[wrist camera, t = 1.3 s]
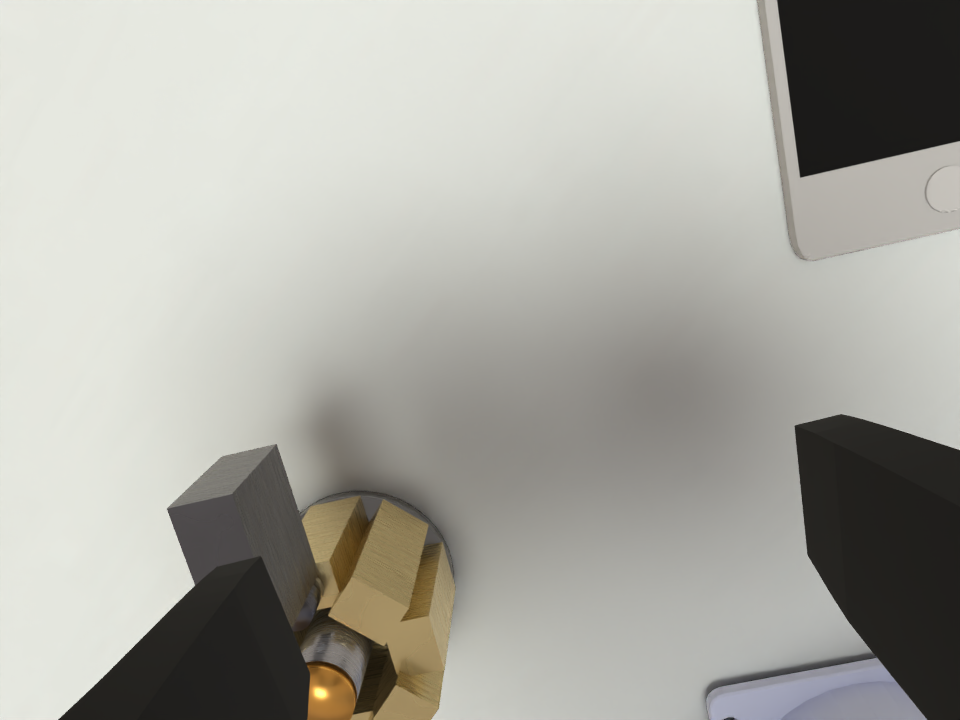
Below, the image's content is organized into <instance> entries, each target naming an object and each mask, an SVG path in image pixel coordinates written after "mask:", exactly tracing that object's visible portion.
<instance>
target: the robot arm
mask: <svg viewBox="0 0 960 720" xmlns="http://www.w3.org/2000/svg"><path fill="white" fill-rule="evenodd" d="M795 434H796V444H797V454H798V464H799V474H800V484H801V494H802V504H803V514H804V524H805V534H806V544H807V554H808V556H809V558H810V560H811V561H812V563H813V565H814V566H815V568H816V570H817V571H818V573H819V575H820V577H821V578H822V580H823V582H824V583H825V585H826V587H827V588H828V590H829V592H830V593H831V595H832V596H833V598H834V600H835V601H836V603H837V604H838V606H839V607H840V609H841V611H842V612H843V614H844V615H845V617H846V618H847V620H848V621H849V623H850V624H851V625H852V627H853V628H854V629H855V630H856V632H857V633H858V634H859V636H860V637H861V638H862V639H863V641H864V642H865V643H866V644H867V646H868V647H869V648H870V649H871V651H872V652H873V653H874V654H875V656H876V657H877V658H873V659H868V660H862V661H857V662H851V663H846V664H841V665H835V666H830V667H824V668H819V669H814V670H808V671H803V672H797V673H792V674H787V675H781V676H776V677H770V678H765V679H760V680H754V681H749V682H743V683H738V684H733V685H727V686H722V687H719V688H716V689H714V690H713V691H711V692H710V693H709V695H708V697H707V699H706V706H707V711H708V716H709V720H724V719H725V718H728V717H734V718H735V719H734V720H960V450H958V449H954V448H951V447H948V446H945V445H942V444H939V443H936V442H933V441H930V440H927V439H924V438H921V437H917V436H914V435H911V434H908V433H905V432H902V431H899V430H896V429H893V428H889V427H886V426H883V425H880V424H877V423H873V422H870V421H866V420H863V419H859V418H855V417H851V416H847V415H842V414H840V415H836V416H832V417H828V418H824V419H820V420H816V421H812V422H808V423H803V424H799V425H795ZM309 687H310V672H309V669H308V667H307V664H306V662H305V660H304V657H303V655H302V652H301V650H300V648H299V645H298V643H297V640H296V638H295V636H294V633H293V631H292V629H291V626H290V624H289V621H288V619H287V617H286V614H285V612H284V609H283V607H282V605H281V602H280V600H279V597H278V595H277V593H276V590H275V588H274V586H273V583H272V581H271V578H270V576H269V574H268V571H267V569H266V566H265V564H264V562H263V559H262V557H261V556H258V557H254V558H250V559H246V560H242V561H238V562H234V563H230V564H226V565H222V566H217V567H216V568H215V569H214V570H212V571H211V572H210V573H209V574H208V575H206V576H205V577H204V578H203V579H202V580H201V581H200V582H199V583H198V584H196V585H195V586H194V587H193V588H192V589H191V590H190V591H189V592H188V593H187V594H186V595H185V596H184V597H183V598H182V599H181V600H180V601H179V602H178V603H177V604H176V605H175V606H174V607H173V608H172V609H171V610H170V611H169V612H168V613H167V614H166V615H165V616H164V617H163V618H162V619H161V620H160V621H159V622H158V623H157V624H156V625H155V626H154V627H153V628H152V629H151V630H150V631H149V632H148V633H147V634H146V635H145V636H144V637H143V638H142V639H141V640H140V641H139V642H138V643H137V644H136V645H135V646H134V647H133V648H132V649H131V650H130V651H129V652H128V653H127V654H126V655H125V656H124V657H123V658H122V659H121V660H120V661H119V662H118V663H117V664H116V665H115V666H114V667H113V668H112V669H111V670H110V671H109V672H108V673H107V674H106V675H105V676H104V677H103V678H102V679H101V680H100V681H99V682H98V683H97V684H96V685H95V686H94V687H93V688H92V689H90V690H89V691H88V692H87V693H86V694H85V695H84V696H83V697H82V698H81V699H80V700H79V701H78V702H77V703H76V704H75V705H73V706H72V707H71V708H70V709H69V710H68V711H67V712H66V713H65V714H64V715H63V716H62V717H61V718H60V719H59V720H307V718H308V703H309Z"/></svg>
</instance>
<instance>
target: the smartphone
mask: <svg viewBox="0 0 960 720" xmlns="http://www.w3.org/2000/svg"><path fill="white" fill-rule="evenodd" d="M757 3H758V11H759V18H760V25H761V33H762V40H763V47H764V55H765V62H766V70H767V77H768V84H769V92H770V99H771V107H772V114H773V121H774V129H775V136H776V144H777V151H778V158H779V166H780V173H781V180H782V188H783V195H784V203H785V210H786V217H787V225H788V232H789V237H790V242H791V245H792V247H793V250H794V252H795V253H796V254H797V255H798V256H799V257H800V258H801V259H805V260H810V261H816V260H820V259H825V258H829V257H834V256H838V255H843V254H847V253H852V252H856V251H861V250H866V249H870V248H875V247H879V246H884V245H888V244H893V243H897V242H902V241H906V240H911V239H915V238H920V237H925V236H929V235H934V234H938V233H943V232H947V231H952V230H956V229H960V0H757Z"/></svg>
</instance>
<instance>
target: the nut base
mask: <svg viewBox="0 0 960 720" xmlns="http://www.w3.org/2000/svg"><path fill="white" fill-rule="evenodd" d="M355 496H361V499H362V503H363V506H364V509H365V512H366V516H367V519H368V522H369V521H370V520H371V518H372V517H373V515H374V513H375V512H376V510H377V508H378V507H379V505H380V504H381V502H382V500H383V499H384V500H386V501H388V502H390V503H391V504H393V505H395V506H397V507H398V508H400V509H402V510H404V511H405V512H407V513H409V514H411V515H412V516H414V517H416V518H418V519H420V520H421V521H423V522H425V523H427V524H428V530H427V534H426V538H425V542H424V546H426V545H431V544H435V543H440V542H443V545H444V549H445V552H446V556H447V559H448V563H449V566H450V570H451V573H452V577H453V565H452V560H451V556H450V553H449V550H448V547H447V545H446V543H445V541H444V539H443V537H442V535H441V534H440V533H439V531H438V530H437V528H436V527H435V526H434V525H433V524H432V522H431V521H430V520H429V519H428V518H427V517H426V516H424V515H423V514H422V513H421V512H420V511H419V510H417V509H416V508H414V507H412V506H411V505H409V504H408V503H406V502H404V501H401V500H399V499H397V498H394V497H391V496H389V495H385V494H381V493H376V492H367V491H351V492H345V493H339V494H335V495H332V496H328V497H326V498H324V499H321V500H319V501H317V502H316V503H314V504H312V505H311V506H314V505H319V504H324V503H328V502H333V501H337V500H342V499H346V498H351V497H355ZM309 508H310V506H309V507H308V508H306V509H305V510H304V511H303V512H301V513H300V517H301V520H302V519H303V518H304V516H305V514H306V513H307V511H308V510H309ZM330 610H331V607H329V608H324V609H319V610H317V611H316V614H315V616H314V618H313V620H312V622H311V625H310V627H309V629H308V631H307V634H306V636H305V638H304V640H303V642H302V645H301V647H300V650H301V652H302V655H303V657H304V660H305V662H306V664H307V667H308V669H309V672H310V687H309V703H308V718H307V720H350V719H351V718H352V715H353V712H354V709H355V705H356V702H357V699H358V695H359V692H360V689H361V685H362V682H363V678H364V675H365V672H366V668H367V665H368V662H369V658H370V655H371V651H372V648H373V645H374V641H373V640H371V639H370V638H368V637H366V636H364V635H362V634H360V633H359V632H357V631H355V630H353V629H351V628H349V627H348V626H346V625H344V624H342V623H340V622H338V621H337V620H335V619H333V618H331V617H329V616H328V614H329V612H330Z"/></svg>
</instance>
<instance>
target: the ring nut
mask: <svg viewBox="0 0 960 720" xmlns="http://www.w3.org/2000/svg"><path fill="white" fill-rule="evenodd" d="M167 510H168V513H169V516H170V518H171V521H172V524H173V527H174V529H175V532H176V535H177V537H178V540H179V543H180V545H181V548H182V551H183V554H184V556H185V559H186V562H187V564H188V567H189V570H190V572H191V575H192V578H193V580H194V583H195V585H196V584H198V583H199V582H200V581H201V580H202V579H203V578H204V577H205V576H206V575H208V574H209V573H210V572H211V571H212V570H214V569H215V568H216V567H217V566H222V565H226V564H230V563H234V562H238V561H242V560H246V559H250V558H254V557H258V556H261V557H262V559H263V562H264V564H265V566H266V569H267V571H268V574H269V576H270V578H271V581H272V583H273V586H274V588H275V590H276V593H277V595H278V597H279V600H280V602H281V605H282V607H283V609H284V612H285V614H286V617H287V619H288V621H289V624H290V626H291V629H292V631H293V633H294V636H295V638H296V640H297V643H298V645H299V648H300V647H301V645H302V642H303V640H304V638H305V636H306V634H307V631H308V629H309V627H310V625H311V622H312V620H313V618H314V616H315V614H316V611H317V610H319V609H324V608H329V607H331V610H330V612H329V614H328V616H329V617H331V618H333V619H335V620H337V621H338V622H340V623H342V624H344V625H346V626H348V627H349V628H351V629H353V630H355V631H357V632H359V633H360V634H362V635H364V636H366V637H368V638H370V639H371V640H373V641H374V645H373V648H372V651H371V655H370V658H369V662H368V665H367V668H366V672H365V675H364V678H363V682H362V685H361V689H360V692H359V695H358V699H357V702H356V705H355V709H354V712H353V715H352V718H351V719H350V720H431V719H432V717H433V716H434V714H435V713H436V712H437V710H438V709H439V703H440V696H441V689H442V681H443V674H444V670H445V663H446V655H447V648H448V640H449V633H450V625H451V618H452V611H453V603H454V596H455V588H456V587H455V584H454V580H453V577H452V573H451V570H450V566H449V563H448V559H447V556H446V552H445V549H444V545H443V542H440V543H435V544H431V545H426V546H424V542H425V538H426V534H427V530H428V524H427V523H425V522H423V521H421V520H420V519H418V518H416V517H414V516H412V515H411V514H409V513H407V512H405V511H404V510H402V509H400V508H398V507H397V506H395V505H393V504H391V503H390V502H388V501H386V500H384V499H383V500H382V502H381V504H380V505H379V507H378V508H377V510H376V512H375V513H374V515H373V517H372V518H371V520H370V521H369V522H368V519H367V516H366V512H365V509H364V506H363V503H362V499H361V496H355V497H351V498H346V499H342V500H337V501H333V502H328V503H324V504H319V505H314V506H310V508H309V510H308V511H307V513H306V514H305V516H304V518H303V519H302V520H301V517H300V514H299V511H298V508H297V505H296V502H295V499H294V496H293V493H292V490H291V487H290V484H289V481H288V477H287V474H286V471H285V468H284V465H283V462H282V459H281V456H280V453H279V450H278V447H277V444H275V445H271V446H266V447H262V448H257V449H253V450H249V451H244V452H240V453H236V454H231V455H227V456H223V457H221V458H220V459H219V460H218V461H217V462H216V463H215V464H213V465H212V466H211V467H210V468H209V469H208V470H207V471H206V472H205V473H204V474H203V475H202V476H201V477H200V478H199V479H198V480H197V481H196V482H194V483H193V484H192V485H191V486H190V487H189V488H188V489H187V490H186V491H185V492H184V493H183V494H182V495H181V496H180V497H179V498H178V499H177V500H175V501H174V502H173V503H172V504H171V505H170V506H169V507H168V508H167Z"/></svg>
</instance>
